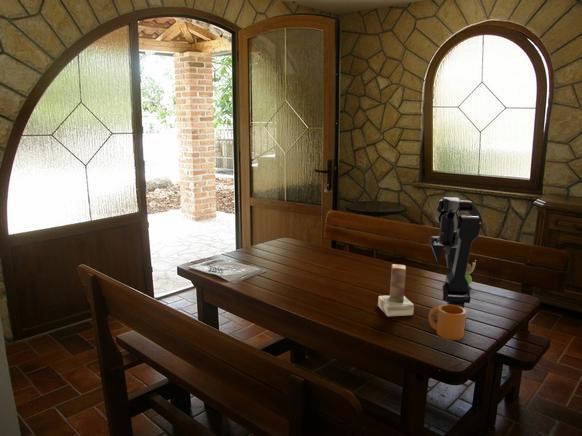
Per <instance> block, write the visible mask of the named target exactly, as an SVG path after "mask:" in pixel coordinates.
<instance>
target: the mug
mask: <svg viewBox="0 0 582 436" xmlns="http://www.w3.org/2000/svg"><path fill="white" fill-rule="evenodd" d="M436 314H437V323H436V322H435V319H434V316H435V315H436ZM466 315H467V310H466V308H465V307H464V308H462V307H460V306H457V305H452V304H447V303H445V304H440V305H439V306H435V307H432V308H431V309H430V310H429V312H428V316H427V318H428V322H429V326H431V328H432V329H433V330H434V331H436V334H437V335H438V336H439V337H441V338H444V339H446V340H451V341H452V340H454V341H458V340H461V339H463V338H464V334H465V325H466V319H465V317H467V316H466Z"/></svg>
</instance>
